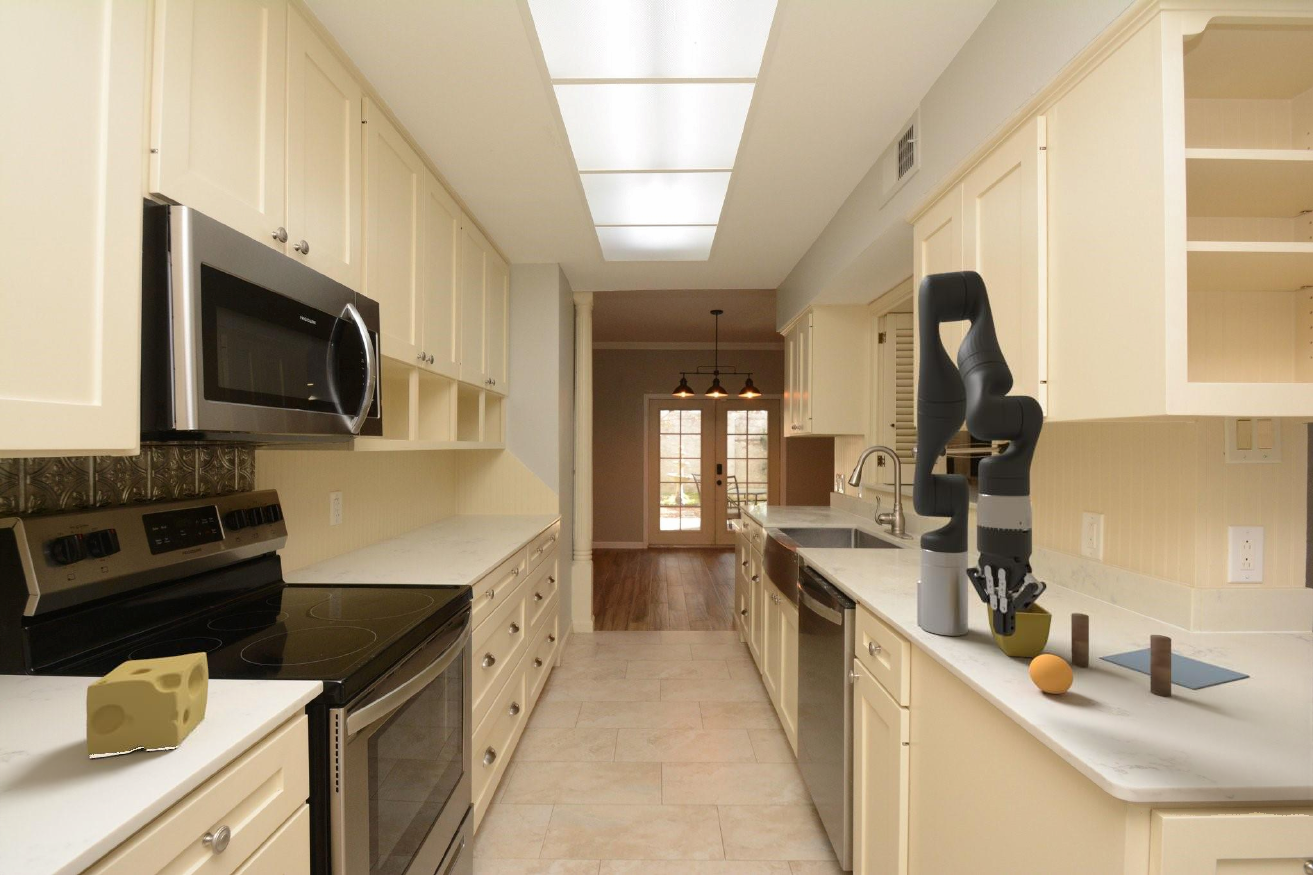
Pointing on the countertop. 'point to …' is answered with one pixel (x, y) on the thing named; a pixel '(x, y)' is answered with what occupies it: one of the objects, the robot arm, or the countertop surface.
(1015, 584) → the robot arm
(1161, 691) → the outer post
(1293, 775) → the countertop surface
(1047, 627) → the flower pot
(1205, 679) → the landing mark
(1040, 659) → the ball
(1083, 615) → the inner post
